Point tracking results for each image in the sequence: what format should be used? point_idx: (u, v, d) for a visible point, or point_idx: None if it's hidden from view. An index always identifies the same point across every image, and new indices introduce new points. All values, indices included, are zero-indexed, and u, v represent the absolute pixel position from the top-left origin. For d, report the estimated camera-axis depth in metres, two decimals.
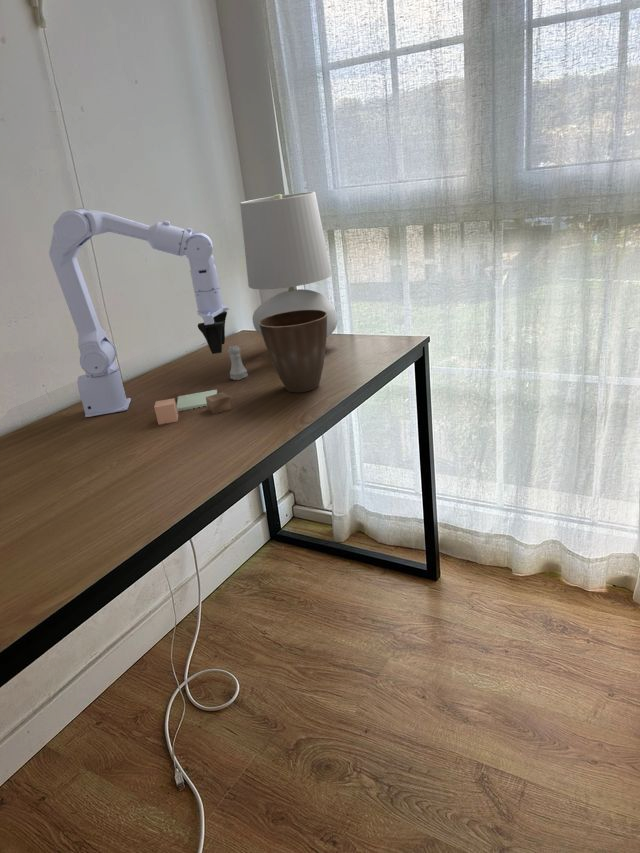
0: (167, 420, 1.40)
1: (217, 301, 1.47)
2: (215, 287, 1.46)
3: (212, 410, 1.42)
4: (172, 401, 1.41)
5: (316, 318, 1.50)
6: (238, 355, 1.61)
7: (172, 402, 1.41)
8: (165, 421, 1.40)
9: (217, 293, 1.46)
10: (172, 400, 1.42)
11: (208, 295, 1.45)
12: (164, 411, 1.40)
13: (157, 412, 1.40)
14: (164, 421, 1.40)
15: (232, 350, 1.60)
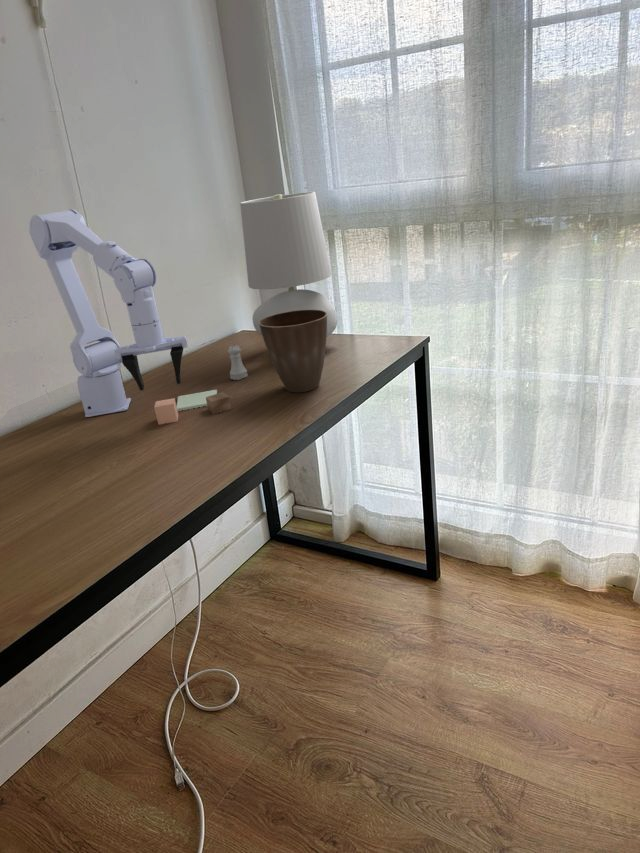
0: (167, 420, 1.40)
1: (137, 338, 1.34)
2: (143, 322, 1.32)
3: (212, 410, 1.42)
4: (172, 401, 1.41)
5: (316, 318, 1.50)
6: (238, 355, 1.61)
7: (172, 402, 1.41)
8: (165, 421, 1.40)
9: (137, 330, 1.33)
10: (172, 400, 1.42)
11: (132, 329, 1.34)
12: (164, 411, 1.40)
13: (157, 412, 1.40)
14: (164, 421, 1.40)
15: (232, 350, 1.60)
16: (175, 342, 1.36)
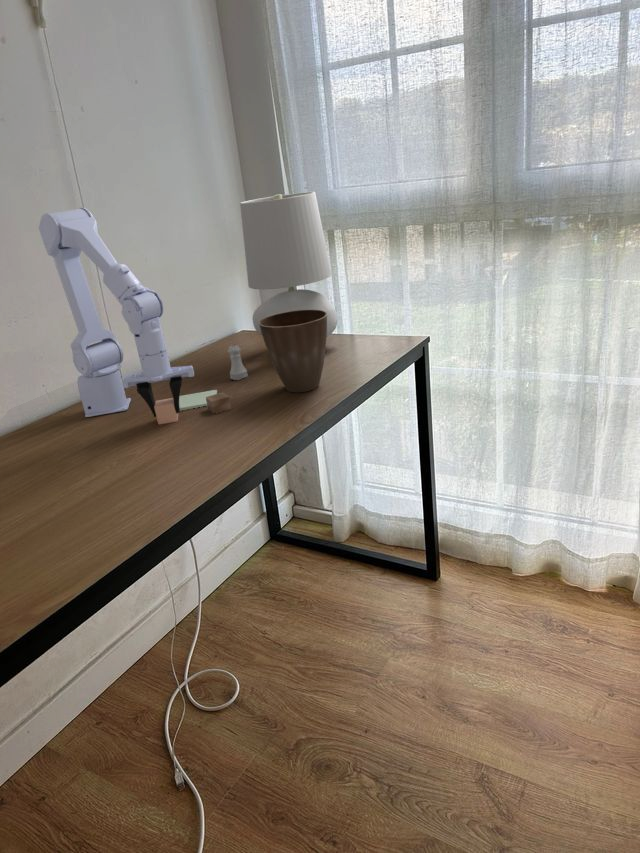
0: (167, 419, 1.40)
1: (144, 368, 1.36)
2: (150, 353, 1.34)
3: (212, 410, 1.42)
4: (172, 400, 1.41)
5: (316, 318, 1.50)
6: (238, 355, 1.61)
7: (172, 401, 1.41)
8: (165, 420, 1.40)
9: (144, 360, 1.35)
10: (172, 399, 1.42)
11: None
12: (164, 410, 1.40)
13: (157, 411, 1.39)
14: (164, 420, 1.40)
15: (232, 350, 1.60)
16: (181, 371, 1.38)
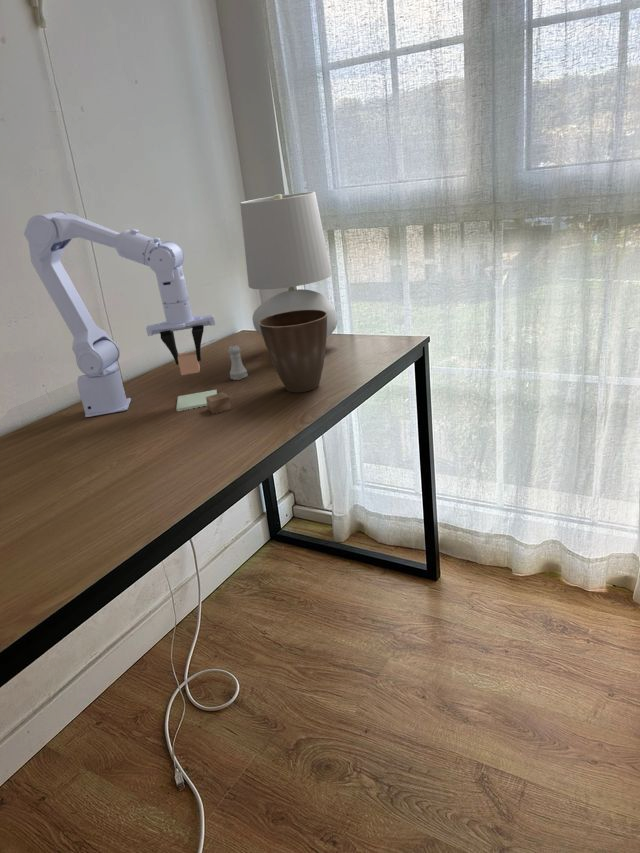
0: (189, 370, 1.46)
1: (168, 316, 1.42)
2: (181, 300, 1.40)
3: (212, 410, 1.42)
4: (194, 352, 1.47)
5: (316, 318, 1.50)
6: (238, 355, 1.61)
7: (194, 353, 1.46)
8: (187, 371, 1.46)
9: (168, 308, 1.41)
10: (194, 352, 1.47)
11: (163, 307, 1.43)
12: (187, 361, 1.45)
13: (180, 362, 1.45)
14: (186, 371, 1.46)
15: (232, 350, 1.60)
16: (203, 320, 1.44)
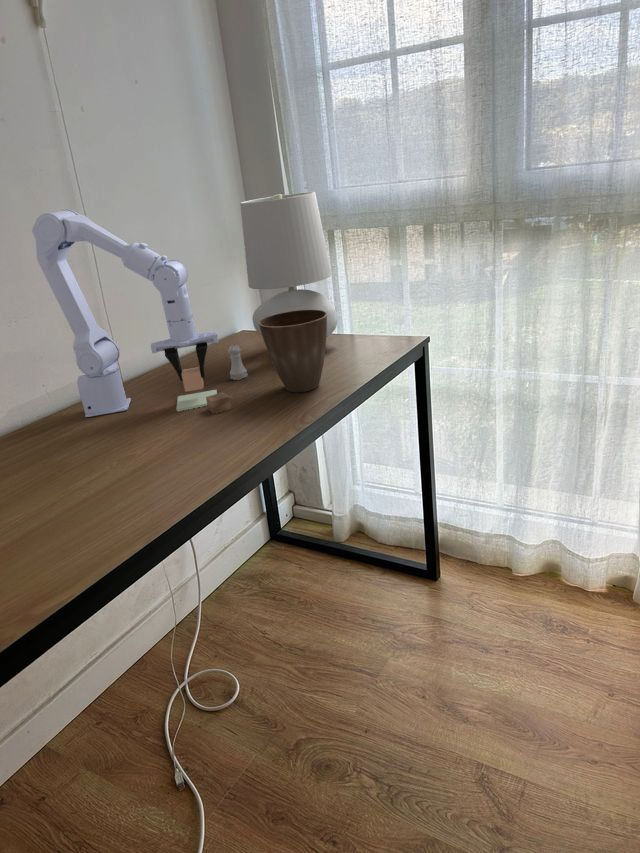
0: (193, 387, 1.48)
1: (172, 334, 1.43)
2: (185, 317, 1.42)
3: (212, 410, 1.42)
4: (198, 369, 1.48)
5: (316, 318, 1.50)
6: (238, 355, 1.61)
7: (198, 370, 1.48)
8: (191, 388, 1.48)
9: (172, 326, 1.42)
10: (198, 368, 1.49)
11: (167, 325, 1.44)
12: (191, 378, 1.47)
13: (184, 379, 1.47)
14: (190, 388, 1.48)
15: (232, 350, 1.60)
16: (207, 337, 1.45)
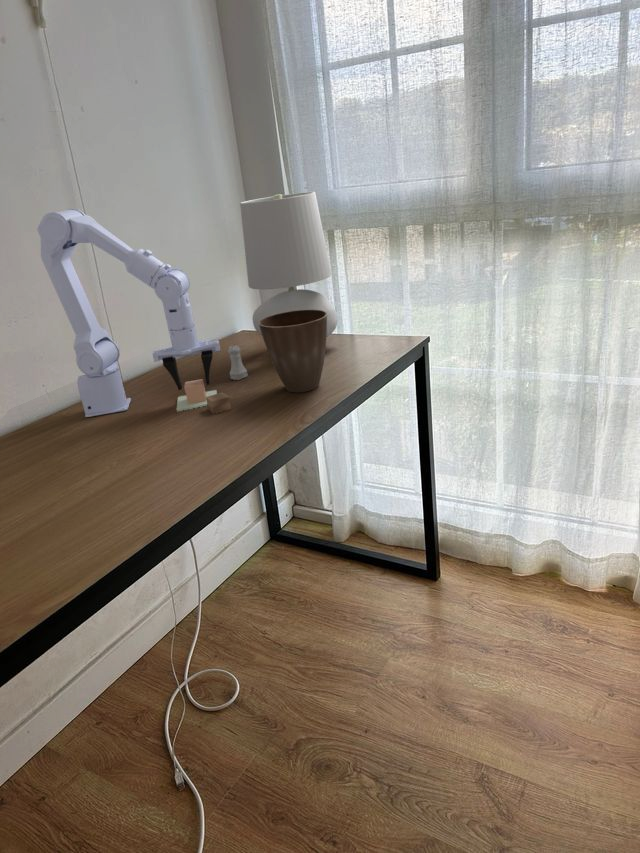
0: (196, 399, 1.49)
1: (174, 342, 1.44)
2: (187, 326, 1.43)
3: (212, 410, 1.42)
4: (201, 381, 1.49)
5: (316, 318, 1.50)
6: (238, 355, 1.61)
7: (200, 382, 1.49)
8: (194, 400, 1.49)
9: (174, 335, 1.43)
10: (201, 381, 1.50)
11: None
12: (194, 390, 1.48)
13: (187, 392, 1.48)
14: (193, 400, 1.49)
15: (232, 350, 1.60)
16: (209, 346, 1.46)
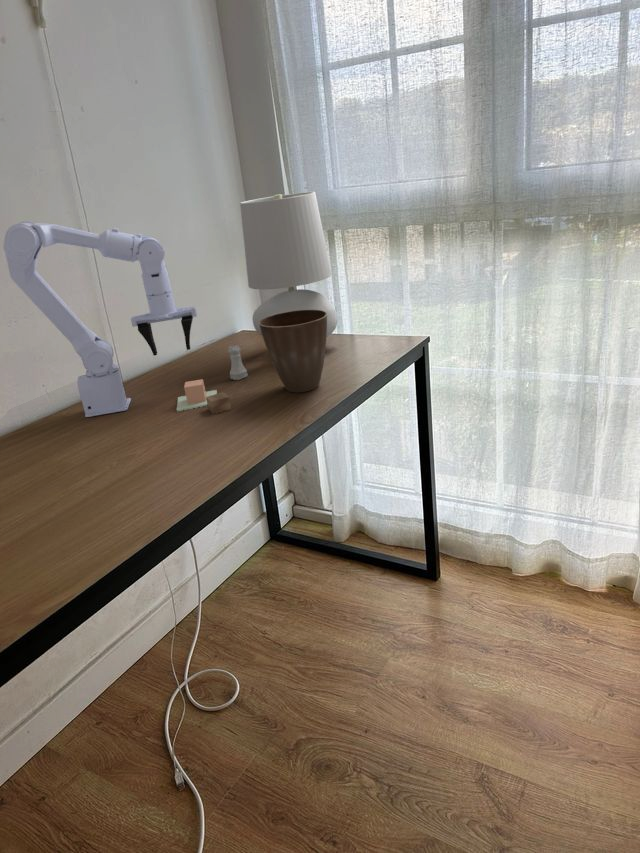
0: (196, 400, 1.49)
1: (151, 307, 1.48)
2: (168, 290, 1.48)
3: (212, 410, 1.42)
4: (201, 382, 1.49)
5: (316, 318, 1.50)
6: (238, 355, 1.61)
7: (200, 383, 1.49)
8: (194, 401, 1.49)
9: (151, 300, 1.48)
10: (201, 381, 1.50)
11: (147, 299, 1.49)
12: (193, 391, 1.48)
13: (187, 392, 1.48)
14: (193, 401, 1.49)
15: (232, 350, 1.60)
16: (185, 311, 1.50)
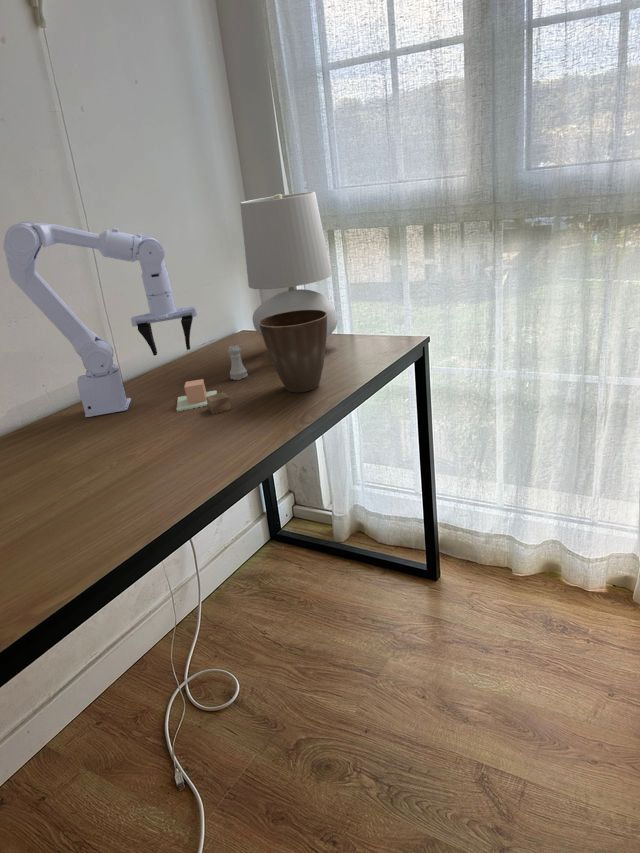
0: (196, 399, 1.49)
1: (151, 307, 1.48)
2: (168, 290, 1.48)
3: (211, 410, 1.42)
4: (201, 382, 1.49)
5: (316, 318, 1.50)
6: (238, 355, 1.61)
7: (201, 382, 1.49)
8: (194, 400, 1.49)
9: (151, 300, 1.48)
10: (201, 381, 1.50)
11: (147, 299, 1.49)
12: (194, 390, 1.48)
13: (187, 392, 1.48)
14: (193, 400, 1.49)
15: (232, 350, 1.60)
16: (185, 311, 1.50)
